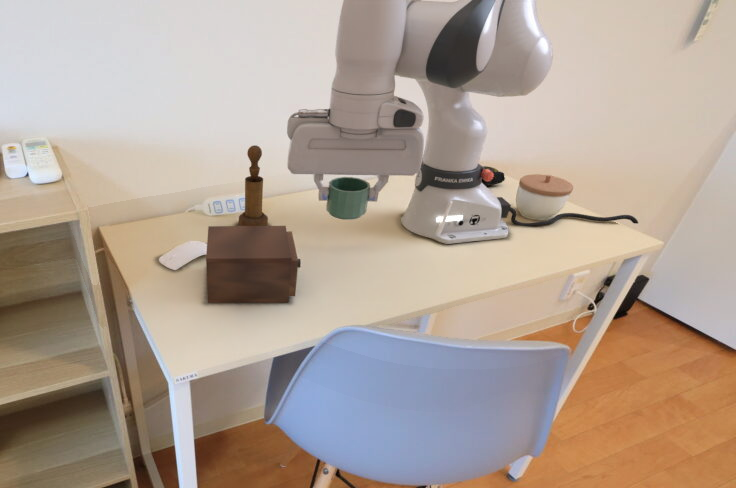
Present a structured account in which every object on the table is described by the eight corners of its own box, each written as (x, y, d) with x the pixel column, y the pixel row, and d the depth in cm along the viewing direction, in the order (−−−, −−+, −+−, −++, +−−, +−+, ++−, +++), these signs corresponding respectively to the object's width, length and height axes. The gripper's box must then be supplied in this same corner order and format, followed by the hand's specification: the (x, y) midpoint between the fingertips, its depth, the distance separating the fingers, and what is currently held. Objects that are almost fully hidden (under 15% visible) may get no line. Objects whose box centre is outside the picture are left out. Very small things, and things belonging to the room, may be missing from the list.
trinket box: (536, 228, 116) (552, 187, 110) (499, 210, 123) (512, 171, 118) (570, 219, 119) (588, 179, 113) (532, 202, 127) (546, 164, 121)
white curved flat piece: (154, 259, 107) (153, 249, 105) (201, 242, 112) (201, 232, 111) (173, 272, 102) (172, 261, 101) (220, 253, 108) (220, 243, 107)
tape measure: (481, 190, 133) (485, 176, 131) (463, 181, 138) (467, 167, 136) (502, 186, 135) (507, 172, 133) (483, 177, 140) (488, 163, 138)
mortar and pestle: (268, 221, 120) (271, 141, 109) (267, 233, 115) (270, 151, 104) (239, 220, 121) (240, 141, 110) (237, 232, 116) (237, 151, 105)
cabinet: (282, 267, 103) (285, 225, 98) (288, 302, 93) (291, 257, 88) (209, 268, 104) (208, 226, 98) (207, 303, 94) (206, 258, 88)
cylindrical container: (363, 205, 88) (367, 177, 85) (367, 221, 83) (372, 192, 80) (325, 204, 88) (328, 176, 85) (326, 220, 83) (330, 191, 80)
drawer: (295, 265, 102) (298, 231, 98) (301, 296, 93) (305, 260, 89) (221, 265, 103) (220, 231, 98) (220, 297, 94) (219, 261, 89)
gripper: (288, 114, 74) (283, 206, 83) (435, 115, 72) (414, 209, 81) (288, 103, 79) (283, 191, 87) (425, 104, 77) (407, 193, 86)
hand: (347, 199), depth 84 cm, fingers closed on cylindrical container, 6 cm apart
